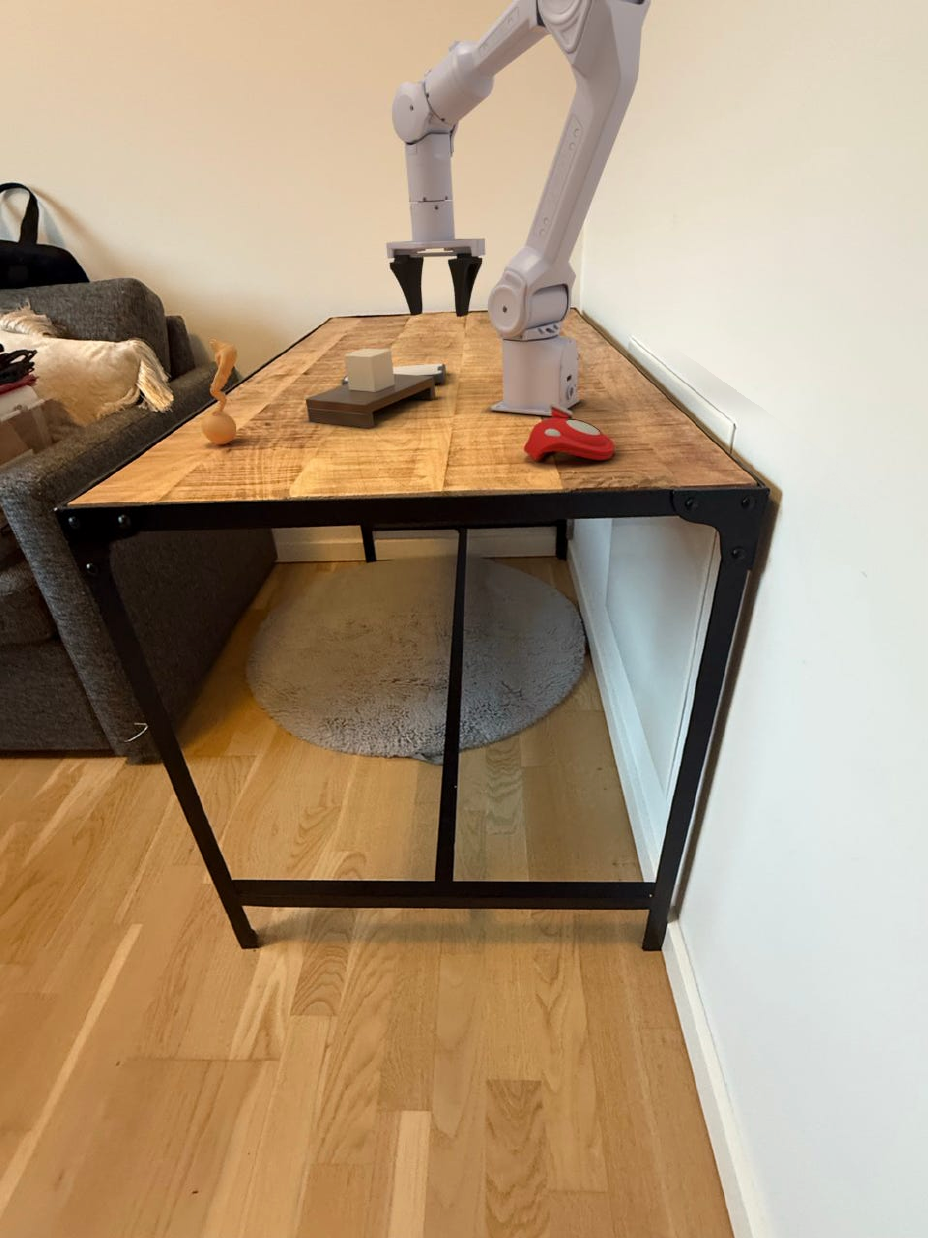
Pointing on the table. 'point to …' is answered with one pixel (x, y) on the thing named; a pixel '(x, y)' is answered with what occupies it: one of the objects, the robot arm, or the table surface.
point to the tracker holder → (568, 437)
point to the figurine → (220, 396)
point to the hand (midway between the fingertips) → (439, 315)
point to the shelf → (365, 401)
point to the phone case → (419, 371)
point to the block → (369, 370)
